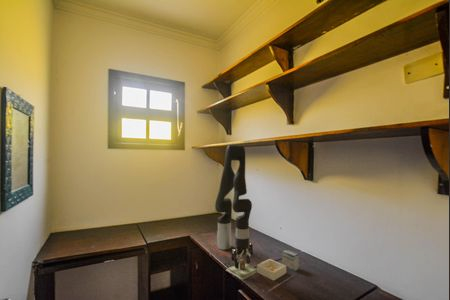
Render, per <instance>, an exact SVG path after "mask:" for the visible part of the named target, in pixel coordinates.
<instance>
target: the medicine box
mask: <svg viewBox="0 0 450 300" xmlns="http://www.w3.org/2000/svg"><path fill="white" fill-rule="evenodd" d="M281 257H282V258H281V260H282V261H281V264H283V265H286V269H288V270H291V271H293V272H296V271H297V270H299V253H297V252H295V251H291V250H288V249H285V250H283V251H282V256H281Z"/></svg>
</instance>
